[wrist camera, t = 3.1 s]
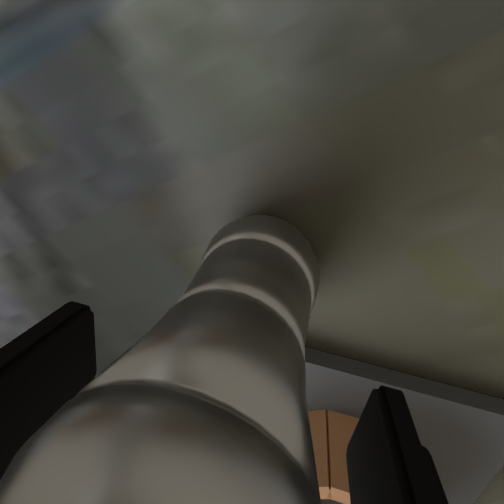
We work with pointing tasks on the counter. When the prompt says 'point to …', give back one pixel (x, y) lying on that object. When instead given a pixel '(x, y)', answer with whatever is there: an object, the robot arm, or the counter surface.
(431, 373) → the counter surface
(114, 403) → the plastic bottle
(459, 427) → the duct base
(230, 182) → the counter surface
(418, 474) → the robot arm
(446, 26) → the counter surface
